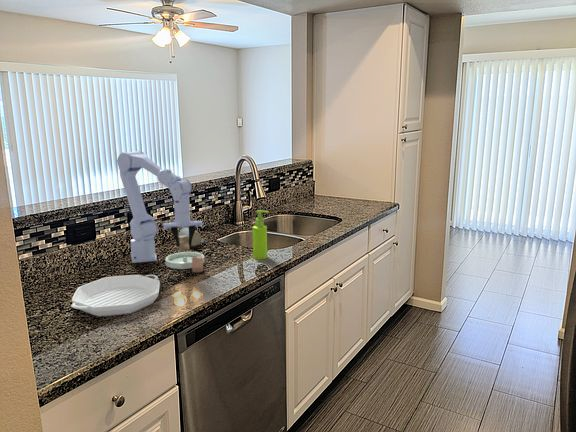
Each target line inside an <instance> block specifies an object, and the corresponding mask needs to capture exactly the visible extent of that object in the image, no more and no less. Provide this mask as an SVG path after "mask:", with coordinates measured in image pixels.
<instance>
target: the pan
mask: <svg viewBox="0 0 576 432" xmlns="http://www.w3.org/2000/svg"><path fill="white" fill-rule="evenodd" d="M153 277H154V278H153ZM160 285H161V282H160V280H159V277H158V276H157V275H155V274H147V275H141V274H128V275H118V276H115V275H114V276H106V277H103V278H99V279H97V280H94V281H91V282H89V283H86V284H83V285H81V286H78V287H77V289H76V290H75V292H74V294H73V296H72V298H71V302H72V304H70V305H71V306H70V307H71V308H73V309H76V310H80V311H82V312H84V313H87V314H89V315H92V316H95V317H102V316H103V317H111V316H113V317H114V316H122V315H123V314H124V315H130V314H133V313H135V312H138V311H140V310H142V309H145V308H146V307H149V306H150V305H152V304H154V302H155V301H156V300H157V298H158V297H159V292H160Z"/></svg>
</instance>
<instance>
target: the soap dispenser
mask: <svg viewBox="0 0 576 432" xmlns="http://www.w3.org/2000/svg"><path fill="white" fill-rule="evenodd" d="M255 213H257V217H256V218H255V225H253V226H252V258H253V259H255V260H265V259H267V258H268V226H267V225H265V220H264V219H265V218H264V217H263V216H262V214H264V213H265V214H269V213H270V211H269V210H265V209H258V210H255Z"/></svg>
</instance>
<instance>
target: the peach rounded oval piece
mask: <svg viewBox="0 0 576 432" xmlns="http://www.w3.org/2000/svg"><path fill="white" fill-rule="evenodd" d="M191 269H192V273H202V272H204V263H203V257H193V258H192V268H191Z"/></svg>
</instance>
